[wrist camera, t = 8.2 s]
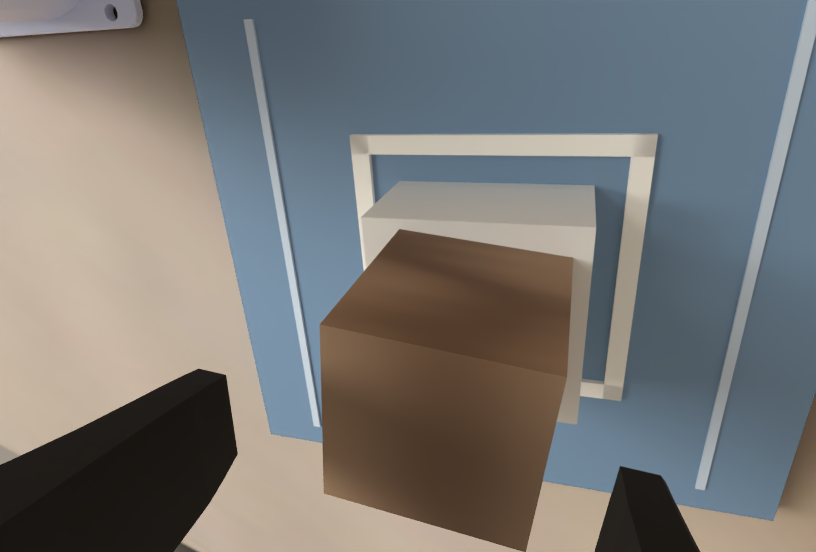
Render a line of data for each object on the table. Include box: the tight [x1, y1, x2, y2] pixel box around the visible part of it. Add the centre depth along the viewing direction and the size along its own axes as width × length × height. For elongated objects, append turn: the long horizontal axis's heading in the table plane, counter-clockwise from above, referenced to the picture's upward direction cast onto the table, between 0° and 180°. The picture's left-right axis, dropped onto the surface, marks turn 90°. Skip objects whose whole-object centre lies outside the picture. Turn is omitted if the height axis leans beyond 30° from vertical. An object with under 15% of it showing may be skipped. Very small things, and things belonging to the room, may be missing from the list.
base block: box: [361, 181, 596, 425], centre depth 16 cm, size 6×6×4 cm
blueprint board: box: [176, 0, 816, 521], centre depth 18 cm, size 20×18×1 cm
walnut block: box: [320, 229, 573, 552], centre depth 13 cm, size 4×4×5 cm
